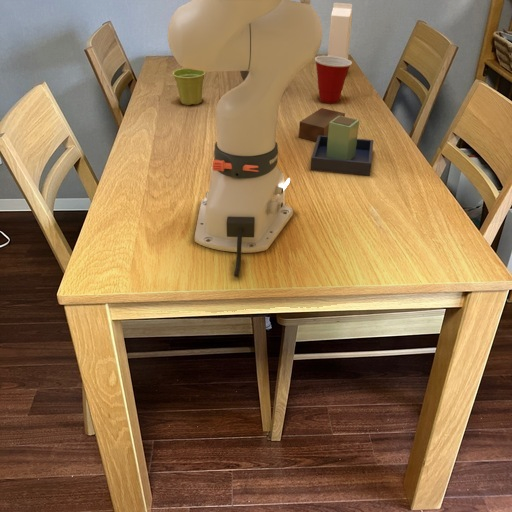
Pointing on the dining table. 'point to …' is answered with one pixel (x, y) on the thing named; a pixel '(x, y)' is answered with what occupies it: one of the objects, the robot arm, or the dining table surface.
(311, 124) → the walnut block
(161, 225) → the dining table surface
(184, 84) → the plant pot
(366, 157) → the tray
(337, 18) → the milk
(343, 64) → the plastic cup
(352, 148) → the green box
